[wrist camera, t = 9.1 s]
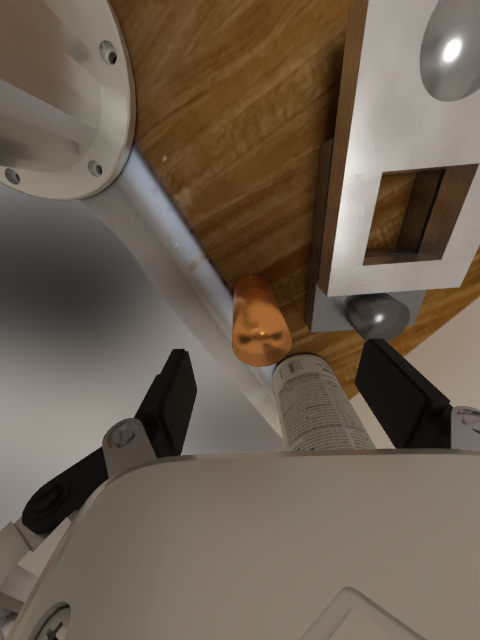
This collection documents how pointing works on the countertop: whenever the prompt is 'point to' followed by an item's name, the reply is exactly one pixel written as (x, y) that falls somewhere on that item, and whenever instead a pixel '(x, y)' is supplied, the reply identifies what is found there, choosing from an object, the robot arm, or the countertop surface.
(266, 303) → the pin
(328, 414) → the spray can
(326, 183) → the plate
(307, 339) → the countertop surface
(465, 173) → the plate with square hole
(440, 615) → the robot arm
